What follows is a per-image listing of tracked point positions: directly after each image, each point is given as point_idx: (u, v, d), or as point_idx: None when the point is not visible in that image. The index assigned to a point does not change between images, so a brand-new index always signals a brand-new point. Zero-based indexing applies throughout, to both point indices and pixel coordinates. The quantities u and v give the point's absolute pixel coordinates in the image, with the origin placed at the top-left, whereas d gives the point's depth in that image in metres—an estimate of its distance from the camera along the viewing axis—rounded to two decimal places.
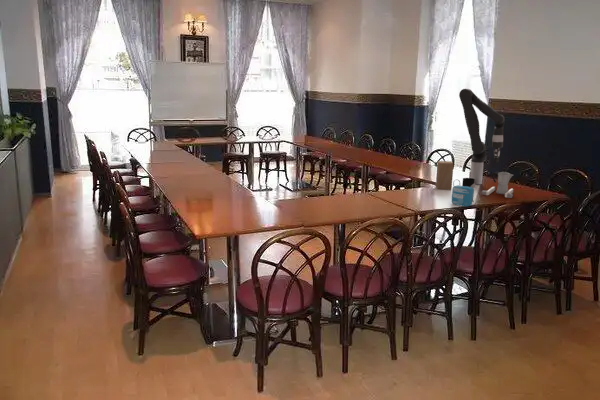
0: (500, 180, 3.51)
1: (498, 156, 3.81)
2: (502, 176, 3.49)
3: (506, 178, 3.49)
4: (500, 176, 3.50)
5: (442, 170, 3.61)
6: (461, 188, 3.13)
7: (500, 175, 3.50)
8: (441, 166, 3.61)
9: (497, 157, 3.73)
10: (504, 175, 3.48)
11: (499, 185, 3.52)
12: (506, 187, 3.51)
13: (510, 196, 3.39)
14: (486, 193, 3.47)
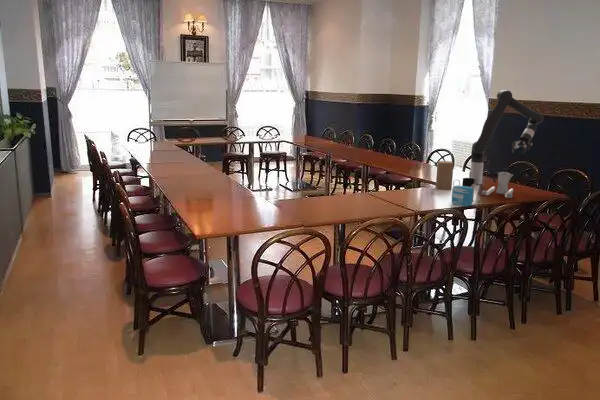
0: (500, 180, 3.51)
1: (515, 148, 3.72)
2: (502, 176, 3.49)
3: (506, 178, 3.49)
4: (500, 176, 3.50)
5: (442, 170, 3.61)
6: (461, 188, 3.13)
7: (500, 175, 3.50)
8: (441, 166, 3.61)
9: (526, 149, 3.65)
10: (504, 175, 3.48)
11: (499, 185, 3.52)
12: (506, 187, 3.51)
13: (510, 196, 3.39)
14: (486, 193, 3.47)
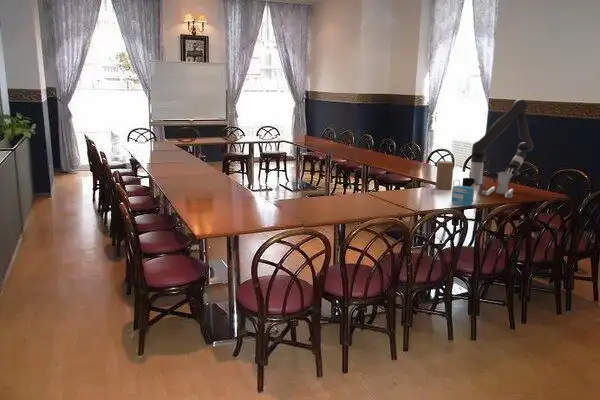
0: (500, 180, 3.51)
1: None
2: (502, 176, 3.49)
3: (506, 178, 3.49)
4: (500, 176, 3.50)
5: (442, 170, 3.61)
6: (461, 188, 3.13)
7: (500, 175, 3.50)
8: (441, 166, 3.61)
9: None
10: (504, 175, 3.48)
11: (499, 185, 3.52)
12: (506, 187, 3.51)
13: (510, 196, 3.39)
14: (486, 193, 3.47)
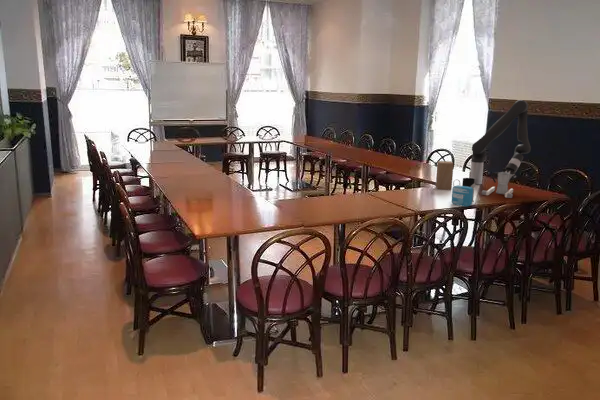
0: (500, 180, 3.51)
1: None
2: (502, 176, 3.49)
3: (506, 178, 3.48)
4: (500, 176, 3.50)
5: (442, 170, 3.61)
6: (461, 188, 3.13)
7: (500, 175, 3.49)
8: (441, 166, 3.61)
9: None
10: (504, 175, 3.48)
11: (499, 185, 3.52)
12: (506, 187, 3.50)
13: (510, 196, 3.39)
14: (486, 193, 3.47)
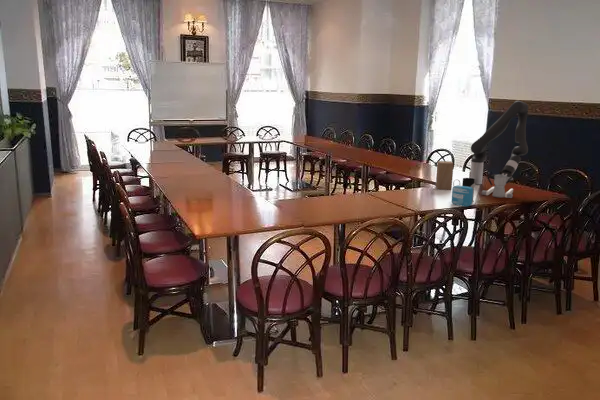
0: (496, 183, 3.40)
1: None
2: (498, 179, 3.38)
3: (502, 181, 3.38)
4: (496, 179, 3.40)
5: (442, 170, 3.61)
6: (461, 188, 3.13)
7: (496, 178, 3.39)
8: (441, 166, 3.61)
9: None
10: (500, 178, 3.38)
11: (495, 188, 3.42)
12: (502, 190, 3.40)
13: (510, 196, 3.39)
14: (486, 193, 3.47)
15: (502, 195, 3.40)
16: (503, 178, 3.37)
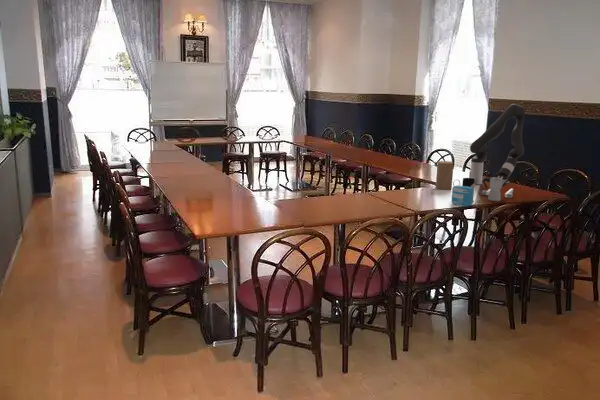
0: (492, 186, 3.29)
1: None
2: (494, 182, 3.27)
3: (498, 184, 3.26)
4: (492, 182, 3.28)
5: (442, 170, 3.61)
6: (461, 188, 3.13)
7: (492, 181, 3.28)
8: (441, 166, 3.61)
9: None
10: (496, 181, 3.26)
11: (491, 191, 3.30)
12: (498, 194, 3.28)
13: (510, 196, 3.39)
14: (486, 193, 3.47)
15: (498, 199, 3.29)
16: (499, 181, 3.26)
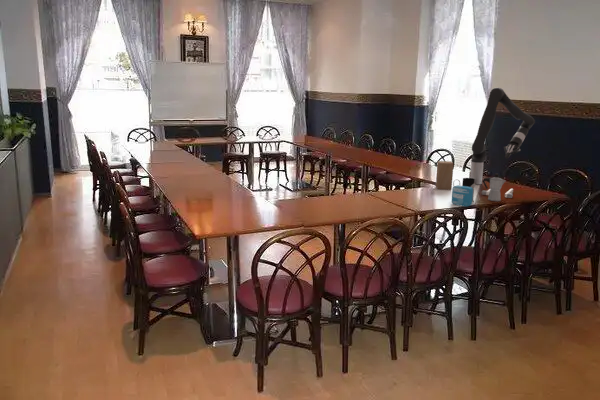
0: (492, 186, 3.29)
1: None
2: (494, 182, 3.27)
3: (498, 184, 3.26)
4: (492, 182, 3.28)
5: (442, 170, 3.61)
6: (461, 188, 3.13)
7: (492, 181, 3.27)
8: (441, 166, 3.61)
9: (511, 154, 3.53)
10: (496, 181, 3.26)
11: (491, 191, 3.30)
12: (498, 194, 3.28)
13: (510, 196, 3.39)
14: (486, 193, 3.47)
15: (498, 199, 3.29)
16: (499, 181, 3.26)
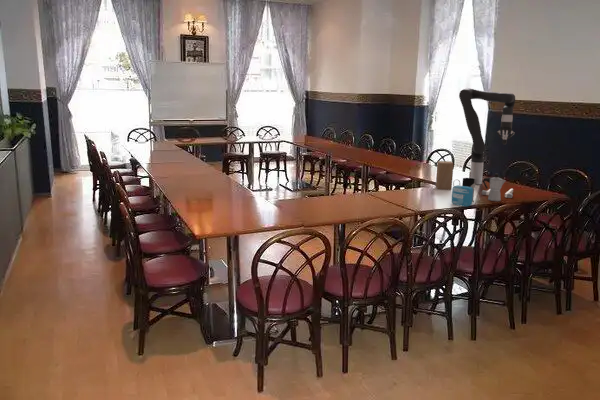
0: (492, 186, 3.29)
1: None
2: (494, 182, 3.27)
3: (498, 184, 3.26)
4: (492, 182, 3.28)
5: (442, 170, 3.61)
6: (461, 188, 3.13)
7: (492, 181, 3.27)
8: (441, 166, 3.61)
9: (507, 138, 3.65)
10: (496, 181, 3.26)
11: (491, 191, 3.30)
12: (498, 194, 3.28)
13: (510, 196, 3.39)
14: (486, 193, 3.47)
15: (498, 199, 3.29)
16: (499, 181, 3.26)
